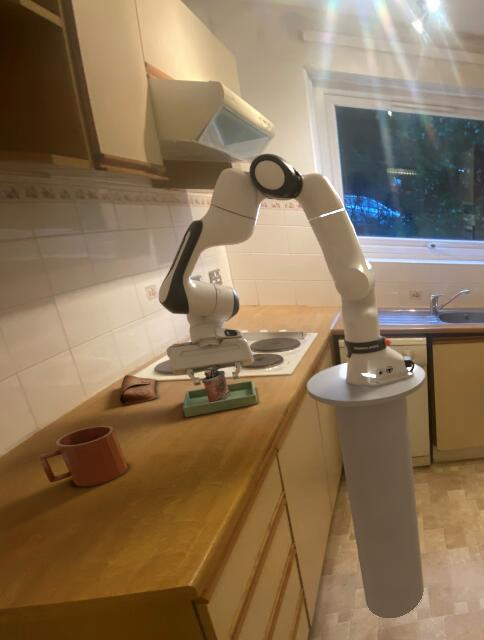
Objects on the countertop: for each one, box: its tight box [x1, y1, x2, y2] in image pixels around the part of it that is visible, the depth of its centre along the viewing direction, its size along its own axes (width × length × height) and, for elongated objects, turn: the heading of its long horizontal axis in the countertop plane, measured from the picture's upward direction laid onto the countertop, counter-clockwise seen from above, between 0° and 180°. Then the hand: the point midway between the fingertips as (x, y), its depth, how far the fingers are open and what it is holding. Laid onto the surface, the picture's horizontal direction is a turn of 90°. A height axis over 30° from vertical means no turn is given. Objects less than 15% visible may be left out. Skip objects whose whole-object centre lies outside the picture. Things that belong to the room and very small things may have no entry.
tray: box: [182, 380, 258, 418], centre depth 126 cm, size 17×13×3 cm
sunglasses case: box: [119, 374, 158, 406], centre depth 132 cm, size 18×7×7 cm
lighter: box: [201, 365, 230, 403], centre depth 125 cm, size 8×3×10 cm, turn 4°
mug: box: [37, 425, 128, 487], centre depth 90 cm, size 12×9×10 cm
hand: (217, 381), depth 124 cm, fingers open, 8 cm apart
